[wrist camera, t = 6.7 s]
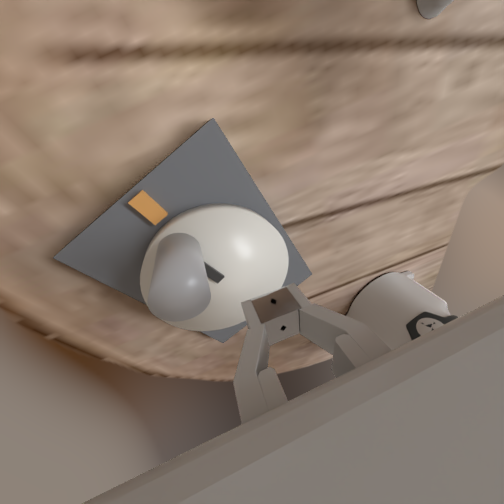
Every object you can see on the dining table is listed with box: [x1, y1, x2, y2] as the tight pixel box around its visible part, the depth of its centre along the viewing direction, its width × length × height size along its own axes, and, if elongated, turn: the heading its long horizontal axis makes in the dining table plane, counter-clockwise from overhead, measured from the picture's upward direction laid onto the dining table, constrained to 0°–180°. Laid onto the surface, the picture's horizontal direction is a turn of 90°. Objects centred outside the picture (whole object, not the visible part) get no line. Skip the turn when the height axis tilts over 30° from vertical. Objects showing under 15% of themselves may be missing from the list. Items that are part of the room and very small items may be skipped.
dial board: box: [53, 118, 312, 343], centre depth 21 cm, size 22×17×3 cm
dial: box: [140, 203, 289, 331], centre depth 17 cm, size 15×15×8 cm
